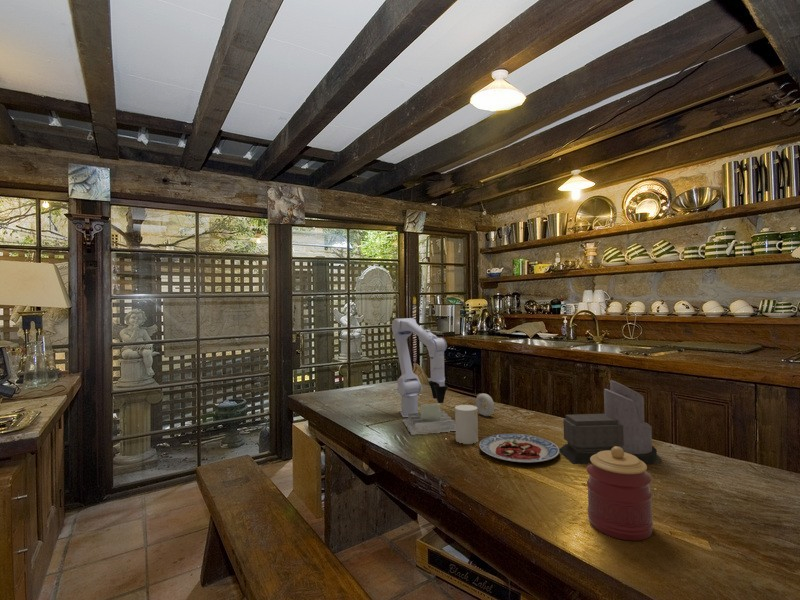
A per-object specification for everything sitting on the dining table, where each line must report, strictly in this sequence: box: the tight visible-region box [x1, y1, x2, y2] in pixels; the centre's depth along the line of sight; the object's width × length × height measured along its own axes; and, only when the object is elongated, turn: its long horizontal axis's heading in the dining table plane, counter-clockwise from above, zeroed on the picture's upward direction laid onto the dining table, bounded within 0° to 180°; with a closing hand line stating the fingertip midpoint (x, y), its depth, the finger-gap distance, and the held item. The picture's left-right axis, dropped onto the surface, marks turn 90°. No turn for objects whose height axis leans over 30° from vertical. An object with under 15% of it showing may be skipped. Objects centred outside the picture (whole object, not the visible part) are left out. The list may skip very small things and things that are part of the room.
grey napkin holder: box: [559, 379, 662, 466], centre depth 131 cm, size 30×16×24 cm, turn 91°
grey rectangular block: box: [419, 402, 442, 419], centre depth 166 cm, size 2×8×8 cm, turn 99°
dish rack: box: [402, 410, 456, 436], centre depth 166 cm, size 18×20×4 cm
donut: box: [475, 393, 495, 417], centre depth 179 cm, size 10×4×10 cm, turn 35°
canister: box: [586, 446, 654, 542], centre depth 91 cm, size 13×13×18 cm
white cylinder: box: [454, 404, 479, 445], centre depth 149 cm, size 8×8×12 cm
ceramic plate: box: [478, 433, 560, 463], centre depth 136 cm, size 26×26×3 cm
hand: (438, 400), depth 166 cm, fingers open, 7 cm apart
